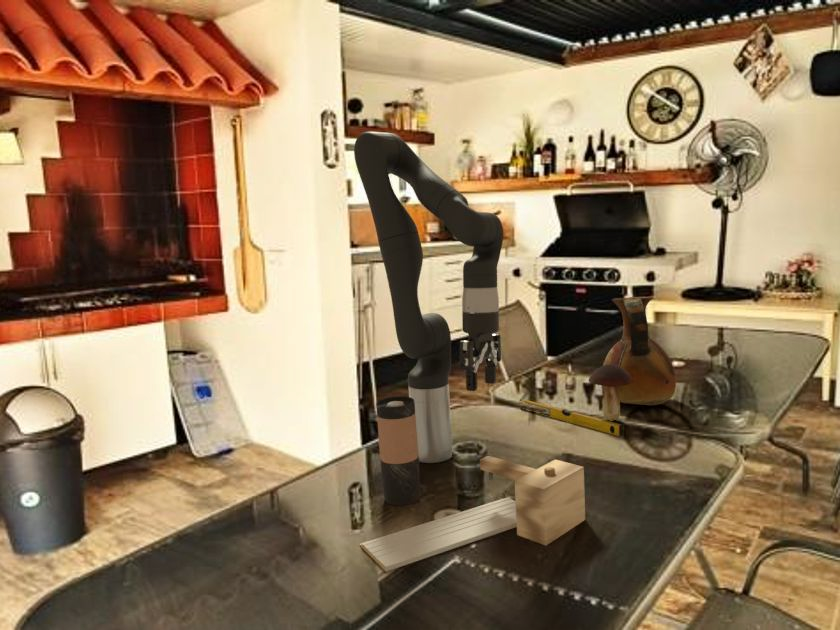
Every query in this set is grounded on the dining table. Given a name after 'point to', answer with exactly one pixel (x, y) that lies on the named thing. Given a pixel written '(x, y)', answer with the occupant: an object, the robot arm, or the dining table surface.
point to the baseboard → (442, 534)
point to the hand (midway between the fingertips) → (481, 386)
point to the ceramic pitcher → (641, 358)
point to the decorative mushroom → (611, 387)
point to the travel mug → (398, 450)
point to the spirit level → (579, 419)
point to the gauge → (543, 496)
